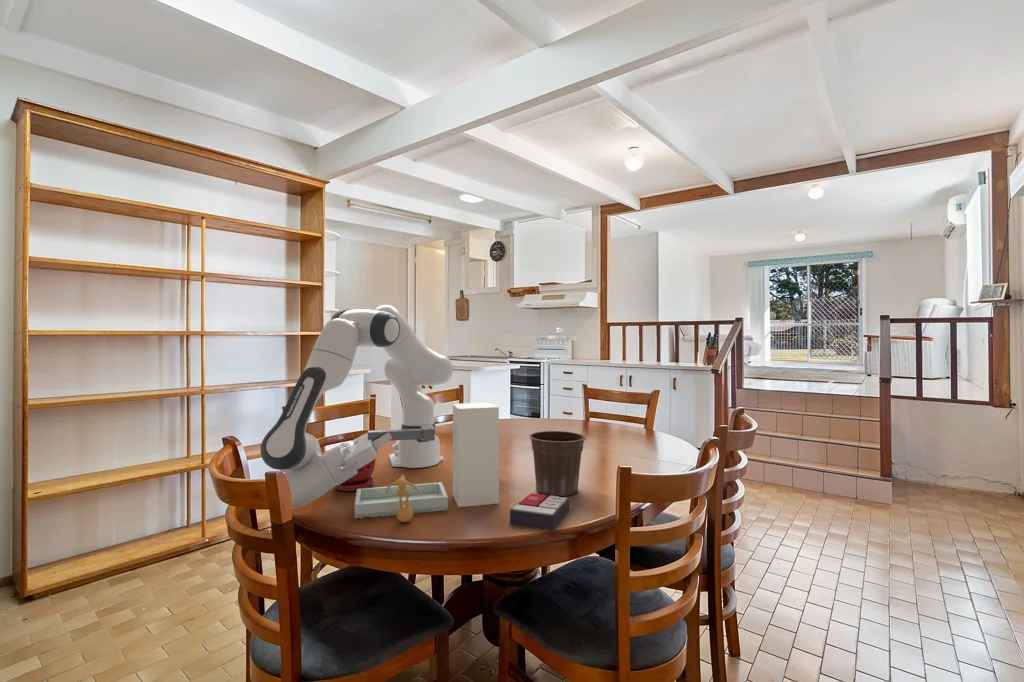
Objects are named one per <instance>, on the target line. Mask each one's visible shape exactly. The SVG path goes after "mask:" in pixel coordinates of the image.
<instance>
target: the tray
mask: <svg viewBox="0 0 1024 682" xmlns="http://www.w3.org/2000/svg"><path fill="white" fill-rule="evenodd" d="M414 485H415V486H416V488H417V489H418V490H419V492H420V494H419V492H418V491H417V490H416V489H415V488H414V487H413V486H410V485H406V488H405V491H406V490H408V494H409V498H408V502H407V504H408V505H409V506H410V507H411V508H412V509H413V514H421V513H422V514H423V513H432V512H441V511H442V512H443V511H449V510H448V507H449V506H448V505H449V501H448V500H449V498H448V494H447V492H446V489H445V487H444V484H443V481H442V482H440V481H439V482H428V483H416V484H414ZM387 488H388V486H378V487H377V486H376V487H367V488H362V489H357V490H356V493H355V494H356V495H355V500H354V519H355V518H360V519H364V518H363V517H371V518H379V517H378V516H381V517H389V516H391V515H392V516H397V510H398V508H399V507H400V502H399V499H400V497H399V496H398V494H397V490H399V488H398V486H397V485H392V486H390V488H389V490H388V493H387V494H386V491H387ZM406 498H407V497H406V496H405V495H404V494H403V495H402V498H401V499H402V501H401V503H402V505H406V504H405V500H406Z"/></svg>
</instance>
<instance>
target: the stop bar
mask: <svg viewBox="0 0 1024 682" xmlns="http://www.w3.org/2000/svg"><path fill="white" fill-rule="evenodd" d="M387 432H389V433H390V434H391V436H392V438H391V439H390V440H389V441H388V442H392V441H397V440H416V439H423V441H434V440H435V435H436V429H434V427H433V425H421V429H401V428H400V429H382V430H381V429H379V430H378V429H377V430H367V433H368V440H369V439H372V441H374V440H376V439H378V438H380V437H382V436H383V435H384V434H386V433H387Z"/></svg>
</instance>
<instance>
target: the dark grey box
mask: <svg viewBox="0 0 1024 682" xmlns="http://www.w3.org/2000/svg"><path fill="white" fill-rule="evenodd" d="M568 510H569V511H570V499H568V497H567V496H564V497H558V496H550V495H549V494H545V495H544V494H541V493H530V494H528V495H527V496H525V497H524V498H523V499H522V500H520V501H519V502H518V504H516V505H515V506H513V507H512V508H511V509H509V525H513V526H517V525H518V527H519V526H520V527H524V526H525V527H526V528H531V527H532V528H531V529H537V528H538V530H544V529H546V530H545V531H551V530H553V531H555V529H557V527H558V525H559V523H561V521H562V520H563V518H565V516H566V515H567V513H568V512H569V511H568ZM565 514H566V515H565ZM556 526H557V527H556ZM547 529H548V530H547Z"/></svg>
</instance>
